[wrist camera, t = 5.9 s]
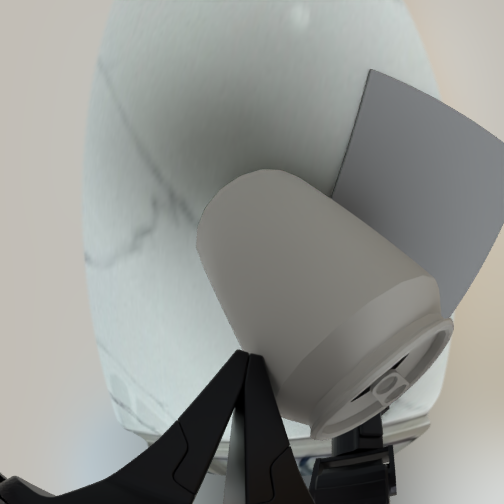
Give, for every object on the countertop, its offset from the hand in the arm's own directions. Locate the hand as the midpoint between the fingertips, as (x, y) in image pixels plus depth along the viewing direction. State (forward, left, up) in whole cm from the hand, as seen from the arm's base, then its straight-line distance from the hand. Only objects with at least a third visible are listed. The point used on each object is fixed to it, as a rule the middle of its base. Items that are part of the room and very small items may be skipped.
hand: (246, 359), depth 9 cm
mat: (+1, -10, -12) cm, 15 cm away
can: (0, +1, -10) cm, 10 cm away
